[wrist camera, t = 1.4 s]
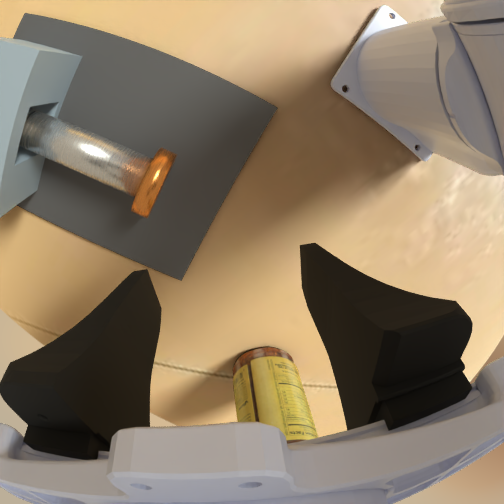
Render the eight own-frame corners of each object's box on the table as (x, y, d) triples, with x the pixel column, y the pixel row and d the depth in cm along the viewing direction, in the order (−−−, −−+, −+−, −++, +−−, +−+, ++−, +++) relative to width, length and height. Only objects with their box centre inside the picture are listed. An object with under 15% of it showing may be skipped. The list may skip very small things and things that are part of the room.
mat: (276, 107, 18) (277, 107, 17) (181, 277, 23) (181, 280, 23) (27, 13, 11) (24, 13, 11) (-23, 181, 17) (-25, 182, 16)
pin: (180, 148, 18) (170, 163, 14) (155, 203, 19) (141, 230, 16) (40, 90, 14) (5, 95, 11) (23, 145, 16) (-10, 159, 12)
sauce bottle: (252, 389, 31) (275, 565, 14) (219, 359, 28) (231, 569, 11) (307, 365, 30) (356, 549, 12) (280, 331, 27) (332, 557, 10)
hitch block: (85, 57, 14) (39, 50, 9) (40, 188, 18) (-4, 220, 13) (24, 40, 12) (-26, 35, 7) (-12, 163, 16) (-58, 188, 11)
